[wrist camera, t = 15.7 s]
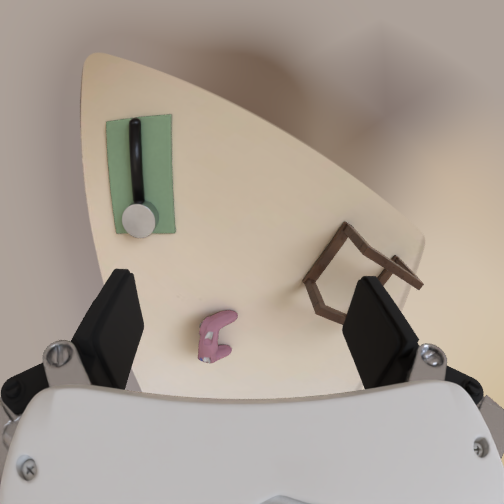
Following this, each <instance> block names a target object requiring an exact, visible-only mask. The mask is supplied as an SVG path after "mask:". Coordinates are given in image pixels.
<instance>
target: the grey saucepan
mask: <svg viewBox="0 0 504 504" xmlns="http://www.w3.org/2000/svg"><path fill="white" fill-rule="evenodd" d="M129 151H130V169H131V182H132V194H133V203H131V204H130V205H129V206H128V207H127V208H126V209H125V210H124V212H123V215H122V224H123V227H124V229H125V230H126V231H127V232H128V233H129V234H130V235H131V236H133V237H136V238H145V237H147V236H149V235H150V234H151V233H152V232H153V231H154V229H155V228H156V226H157V224H158V222H159V213H158V210H157V208H156V207H155V206H154V205H153V204H152V203H151V202H149V201H147V200H145V194H144V181H143V165H142V141H141V121H140V119H139V118H132V119H131V120H130V121H129Z"/></svg>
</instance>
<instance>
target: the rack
mask: <svg viewBox="0 0 504 504" xmlns="http://www.w3.org/2000/svg"><path fill="white" fill-rule="evenodd" d="M348 237H349V238H350V240H351V241H352V242H353V243H354V244H355V246H356V247H357V248H358V249H359V250H360V252H361V253H362V254H363V255H364V256H366V257H368V258H369V259H371V260H373V261H374V262H376V263H377V264H379V265H381V266H382V267H384V268H385V269H384V270H383V272H382V273H381V274H380V275H379V277H378V280H379V281H380V282H381V284H382V285H384V284H385V283H386V282H387V280H388V279H389V278H390V277H391V275H392V274H395V275H396V276H398V277H399V278H401V279H403V280H404V281H406V282H407V283H409V284H410V285H412V286H413V287H415V288H416V289H418V290H420V288H421V287H422V286H423V285H424V284H423V283H422V282H421V281H420V280H419V278H418V277H417V276H416V275H415V274H414V273H413V272H412V271H411V270H410V269H409V267H408V266H407V265H406V264H405V263H404V262H403V261H402V260H401V259H400V258H399V257H397V256H396V255H395V256H394V257H393V258H392V260H390V259H389V258H387V257H386V256H384V255H383V254H381V253H380V252H378V251H377V250H375V249H374V248H372V247H371V246H370V245H369V244H368V243H367V242H366V241H365V240H364V238H363V237H362V236H361V235H360V234H359V233H358V232H357V231H356V230H355V229H354V227H353V226H351V225H350V224H348V223H347V222H344V223H343V224H342V226H341V227H340V229H339V230H338V232H337V233H336V235H335V236H334V237H333V239H332V240H331V242H330V243H329V245H328V246H327V247H326V249H325V250H324V252H323V253H322V254H321V256H320V257H319V259H318V260H317V261H316V263H315V264H314V265H313V267H312V268H311V270H310V271H309V272H308V274H307V275H306V276H305V278H304V279H303V283H304V284H305V286H306V289H307V292H308V294H309V297H310V300H311V302H312V305H313V308H314V311H315V314H317V315H319V316H322V317H324V318H327V319H329V320H332V321H334V322H337V323H339V324H342V325H343V324H344V321H345V318H346V316H347V314H345V313H342V312H340V311H338V310H335V309H333V308H331V307H328V306H326V305H325V303H324V301H323V299H322V296H321V294H320V292H319V289H318V287H317V285H316V280H317V279H318V278H319V276H320V275H321V274H322V272H323V271H324V270H325V268H326V267H327V266H328V264H329V263H330V262H331V260H332V259H333V258H334V256H335V255H336V253H337V252H338V251H339V249H340V248H341V246H342V245H343V244H344V242H345V241H346V239H347V238H348Z"/></svg>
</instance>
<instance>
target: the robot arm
mask: <svg viewBox="0 0 504 504" xmlns="http://www.w3.org/2000/svg"><path fill="white" fill-rule="evenodd" d="M143 330H144V322H143V317H142V313H141V309H140V304H139V299H138V295H137V290H136V285H135V279H134V275H133V273H130V272H129V270H128V269H115V270H114V271H113V272H112V274H111V275H110V277H109V279H108V280H107V282H106V283H105V285H104V286H103V288H102V290H101V291H100V293H99V295H98V296H97V298H96V299H95V300H94V301H93V303H92V305H91V306H90V308H89V310H88V311H87V313H86V315H85V317H84V318H83V320H82V322H81V324H80V325H79V327H78V329H77V331H76V333H75V334H74V336H73V338H72V340H71V342H70V341H67V340H59V341H56V342H54V343H52V344H50V345H49V346H48V347H47V348H46V350H45V351H44V353H43V363H41V364H39V365H37V366H35V367H33V368H30V369H28V370H26V371H24V372H22V373H20V374H18V375H16V376H13V377H11V378H10V379H8V380H7V381H6V382H5V383H4V385H3V387H2V389H1V397H0V504H504V467H503V464H502V461H501V458H502V456H503V453H504V409H502V407H500V406H499V405H498V404H497V403H496V402H494V401H493V400H492V399H491V398H490V397H488V396H487V395H486V396H485V397H483V389H482V386H481V385H480V383H479V382H478V381H477V380H475V379H474V378H472V377H469V376H468V375H466V374H463V373H461V372H459V371H457V370H455V369H453V368H451V367H449V366H447V358H446V355H445V353H444V352H443V351H442V350H441V349H440V348H439V347H437V346H435V345H433V344H422V345H421V346H419V345H418V343H417V342H418V340H419V339H418V337H417V336H416V334H415V333H414V331H413V330H412V328H411V326H410V325H409V323H408V322H407V320H406V319H405V317H404V316H403V314H402V313H401V311H400V310H399V308H398V307H397V305H396V304H395V302H394V301H393V299H392V298H391V297H390V295H389V294H388V292H387V291H386V289H385V288H384V287H383V285H382V284H381V282H380V281H379V280H378V278H377V277H376V276H363V277H362V278H361V280H358V282H357V285H356V288H355V292H354V295H353V298H352V301H351V304H350V307H349V310H348V313H347V316H346V318H345V321H344V324H343V328H342V331H343V335H344V337H345V340H346V342H347V345H348V347H349V350H350V352H351V355H352V357H353V360H354V362H355V365H356V367H357V370H358V372H359V375H360V378H361V380H362V383H363V385H364V388H365V390H358V391H352V392H345V393H337V394H328V395H319V396H308V397H295V398H277V399H212V398H193V397H180V396H170V395H160V394H152V393H143V392H135V391H129V390H125V387H126V383H127V380H128V377H129V373H130V370H131V367H132V364H133V360H134V357H135V354H136V351H137V348H138V345H139V342H140V339H141V336H142V333H143Z"/></svg>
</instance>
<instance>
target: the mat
mask: <svg viewBox="0 0 504 504" xmlns="http://www.w3.org/2000/svg"><path fill="white" fill-rule="evenodd" d="M137 118H139V119H140V121H141V141H142V165H143V181H144V194H145V200H147V201H149V202H151V203H152V204H153V205H154V206H155V207H156V208H157V210H158V213H159V222H158V224H157V226H156V228H155V229H154V231H153V232H152V233H175V232H176V231H175V217H174V201H173V181H172V143H171V114H169V115H156V116H146V117H137ZM131 119H132V118H129V119H121V120H115V121H108V122H106V133H107V154H108V168H109V180H110V190H111V198H112V206H113V214H114V221H115V227H116V233H128V232H127V231H126V230H125V229H124V227H123V224H122V215H123V212H124V210H125V209H126V208H127V207H128V206H129V205H130V204H131V203H133V194H132V182H131V169H130V151H129V121H130V120H131Z"/></svg>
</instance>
